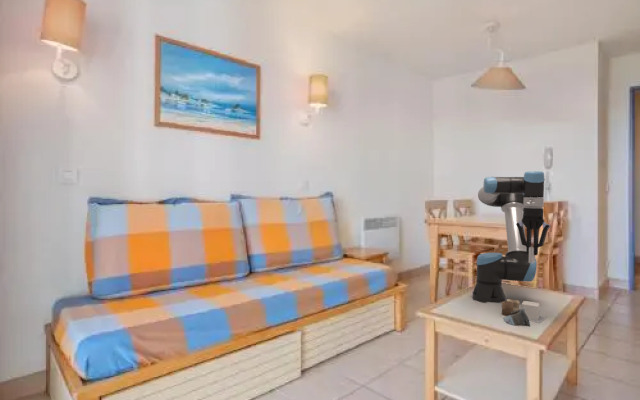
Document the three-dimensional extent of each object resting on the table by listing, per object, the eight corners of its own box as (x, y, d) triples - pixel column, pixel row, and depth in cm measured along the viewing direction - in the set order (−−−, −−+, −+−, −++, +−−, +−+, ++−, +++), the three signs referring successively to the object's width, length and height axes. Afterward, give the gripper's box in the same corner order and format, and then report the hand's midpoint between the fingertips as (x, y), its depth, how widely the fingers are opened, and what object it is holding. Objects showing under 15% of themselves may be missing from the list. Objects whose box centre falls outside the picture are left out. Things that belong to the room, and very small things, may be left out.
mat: (513, 318, 159) (513, 317, 159) (521, 313, 166) (521, 311, 166) (539, 324, 152) (539, 323, 152) (547, 319, 159) (547, 317, 159)
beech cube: (506, 312, 167) (506, 301, 167) (506, 309, 172) (507, 299, 171) (518, 314, 165) (519, 303, 165) (518, 311, 169) (519, 300, 169)
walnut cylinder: (500, 316, 162) (500, 302, 162) (503, 313, 165) (504, 300, 165) (510, 318, 159) (511, 304, 159) (514, 316, 162) (514, 302, 162)
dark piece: (495, 319, 160) (502, 306, 152) (510, 313, 161) (517, 300, 152) (509, 339, 154) (517, 327, 145) (524, 334, 155) (533, 321, 146)
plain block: (521, 317, 159) (521, 303, 158) (523, 314, 163) (523, 300, 163) (537, 320, 155) (538, 306, 155) (539, 316, 160) (539, 303, 160)
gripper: (513, 207, 160) (512, 261, 161) (548, 208, 151) (546, 266, 151) (519, 206, 165) (518, 259, 166) (553, 207, 156) (552, 263, 156)
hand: (531, 262), depth 159 cm, fingers closed
